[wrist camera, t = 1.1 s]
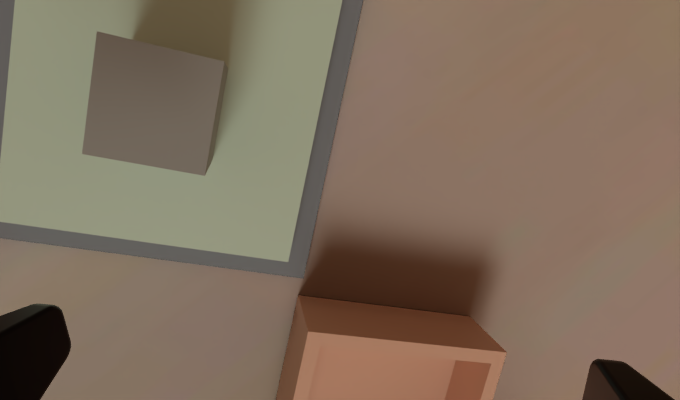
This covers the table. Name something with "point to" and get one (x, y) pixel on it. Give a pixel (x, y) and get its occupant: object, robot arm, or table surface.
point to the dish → (386, 354)
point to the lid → (165, 119)
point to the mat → (3, 10)
